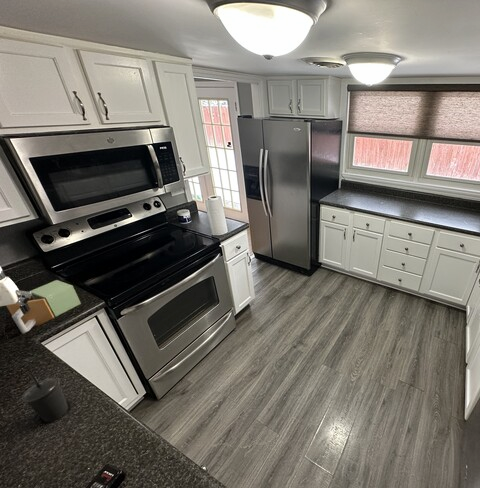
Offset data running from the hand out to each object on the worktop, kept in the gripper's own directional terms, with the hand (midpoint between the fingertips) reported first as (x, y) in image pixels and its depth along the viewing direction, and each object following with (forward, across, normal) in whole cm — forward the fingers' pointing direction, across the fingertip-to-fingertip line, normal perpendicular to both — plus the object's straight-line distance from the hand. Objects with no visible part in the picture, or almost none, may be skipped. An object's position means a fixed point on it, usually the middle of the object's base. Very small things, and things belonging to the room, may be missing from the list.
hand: (10, 315), depth 104 cm
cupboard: (+12, +8, +16) cm, 21 cm away
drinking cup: (+13, +27, -47) cm, 55 cm away
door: (+12, +2, +5) cm, 13 cm away
